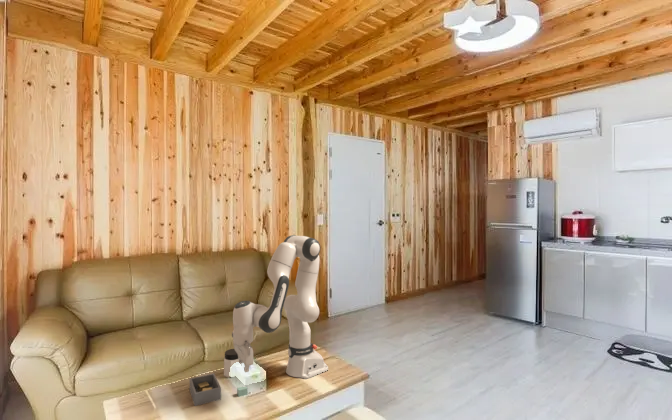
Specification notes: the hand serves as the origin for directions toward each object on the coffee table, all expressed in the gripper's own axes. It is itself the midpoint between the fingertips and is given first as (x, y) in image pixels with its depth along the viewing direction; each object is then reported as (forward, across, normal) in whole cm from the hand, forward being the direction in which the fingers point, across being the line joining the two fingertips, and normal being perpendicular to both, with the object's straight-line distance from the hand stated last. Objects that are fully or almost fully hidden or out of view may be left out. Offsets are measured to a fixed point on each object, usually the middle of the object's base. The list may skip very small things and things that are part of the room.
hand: (243, 367), depth 162 cm
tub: (+12, +7, +16) cm, 22 cm away
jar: (+13, +21, 0) cm, 25 cm away
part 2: (+12, +5, +16) cm, 20 cm away
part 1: (+12, +11, +16) cm, 23 cm away
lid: (+14, +6, +1) cm, 15 cm away
